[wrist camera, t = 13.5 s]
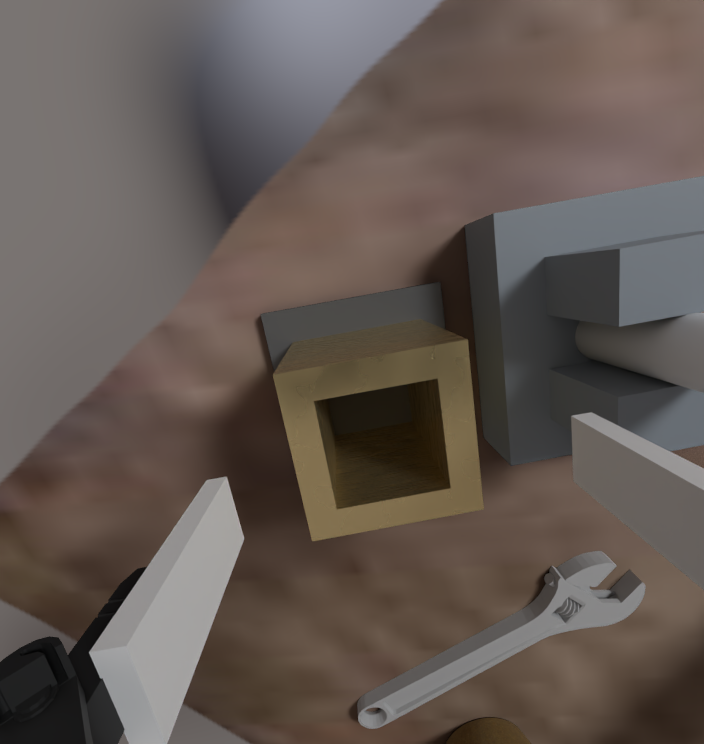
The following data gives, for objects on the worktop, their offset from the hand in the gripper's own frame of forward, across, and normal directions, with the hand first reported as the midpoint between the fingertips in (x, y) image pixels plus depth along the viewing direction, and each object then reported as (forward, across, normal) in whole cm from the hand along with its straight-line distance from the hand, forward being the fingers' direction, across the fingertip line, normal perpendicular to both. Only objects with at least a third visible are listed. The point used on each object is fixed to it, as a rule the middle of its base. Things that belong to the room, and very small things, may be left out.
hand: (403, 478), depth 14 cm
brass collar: (+10, 0, -1) cm, 10 cm away
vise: (+11, -12, -3) cm, 17 cm away
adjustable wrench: (+12, -6, +22) cm, 25 cm away
